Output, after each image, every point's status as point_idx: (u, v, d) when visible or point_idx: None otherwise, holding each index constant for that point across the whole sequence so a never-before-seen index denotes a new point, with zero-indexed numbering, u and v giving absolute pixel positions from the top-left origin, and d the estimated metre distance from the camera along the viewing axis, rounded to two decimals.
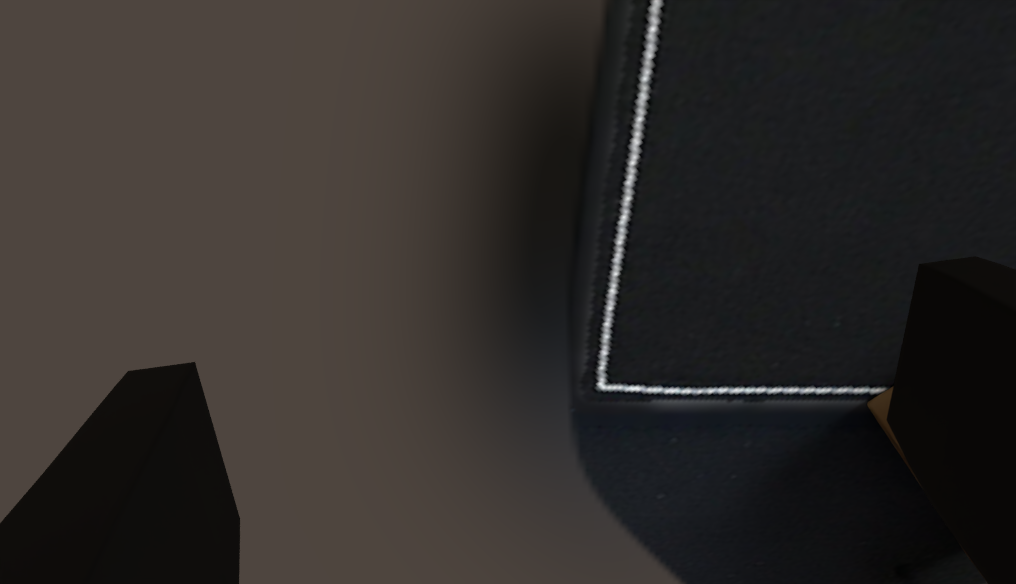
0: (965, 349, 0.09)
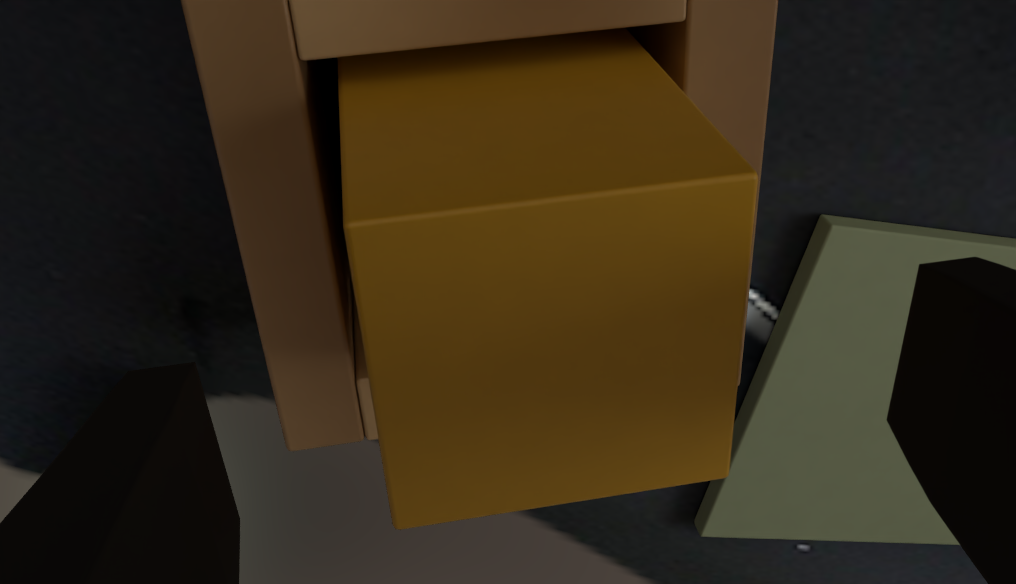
0: (965, 349, 0.09)
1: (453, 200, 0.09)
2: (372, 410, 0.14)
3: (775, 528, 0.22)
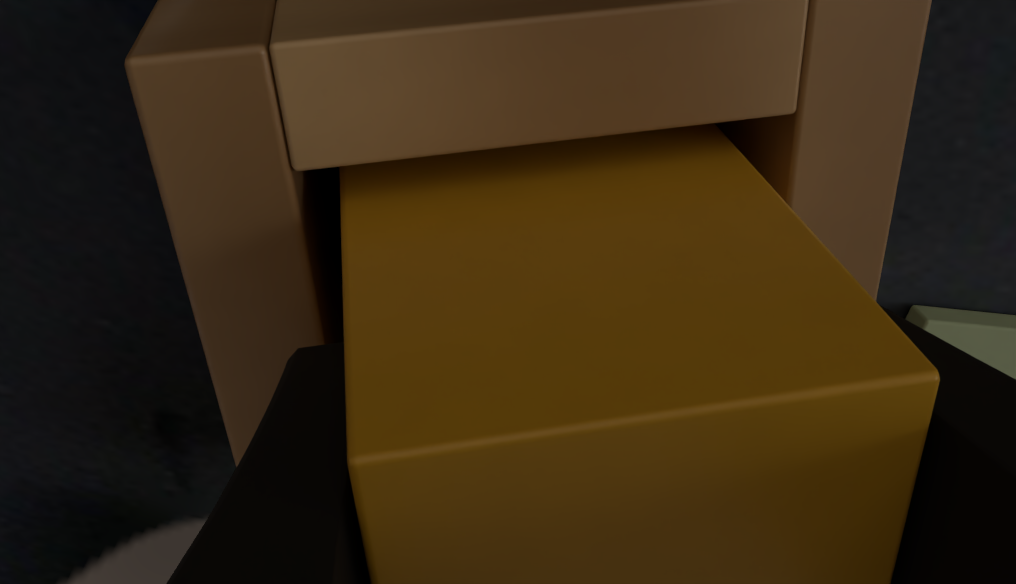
0: None
1: (506, 417, 0.06)
2: None
3: None
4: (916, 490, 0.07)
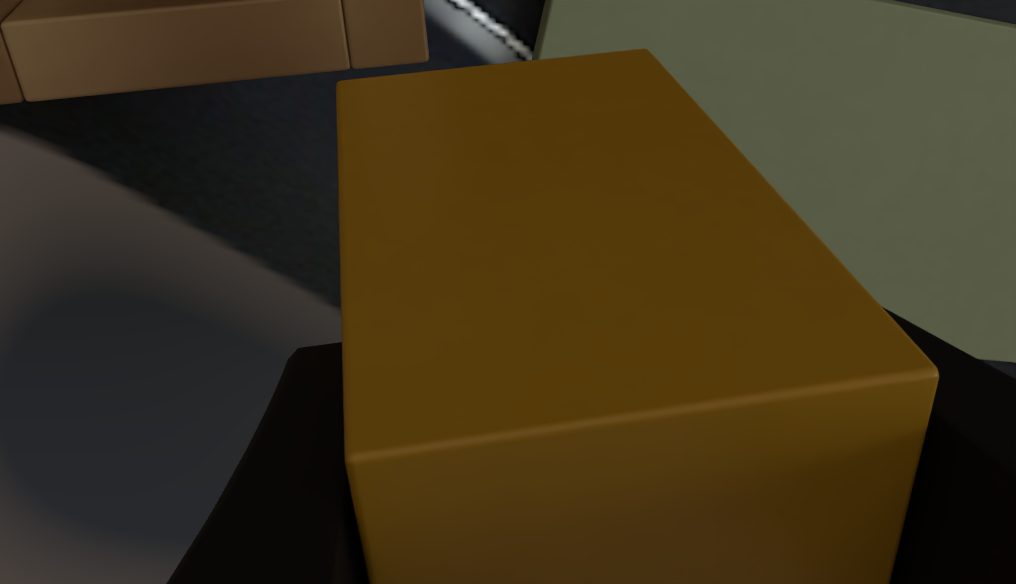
0: None
1: (504, 414, 0.06)
2: (24, 62, 0.14)
3: None
4: (916, 490, 0.07)
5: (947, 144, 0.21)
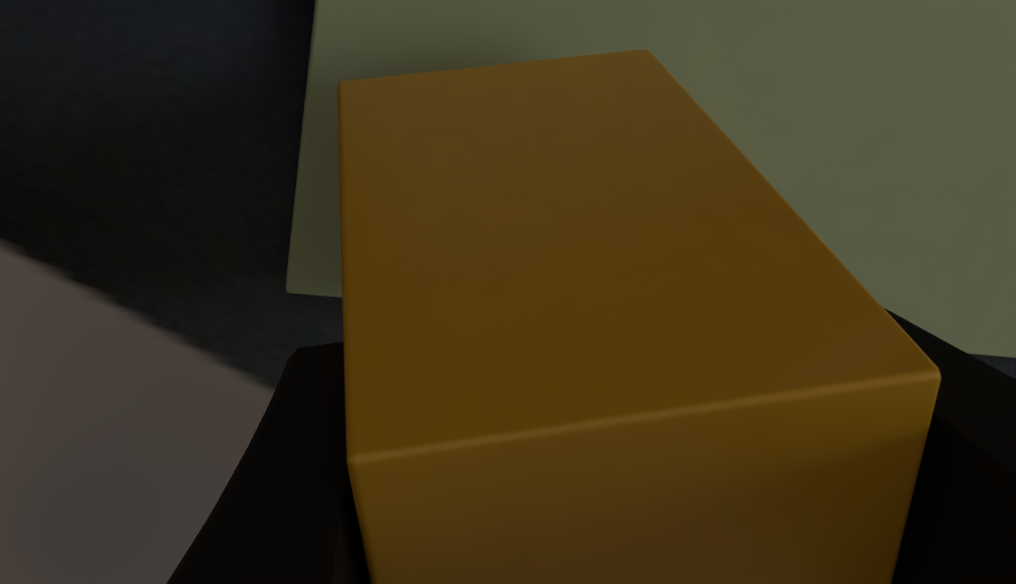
0: None
1: (506, 416, 0.06)
2: None
3: None
4: (916, 490, 0.07)
5: (954, 46, 0.14)
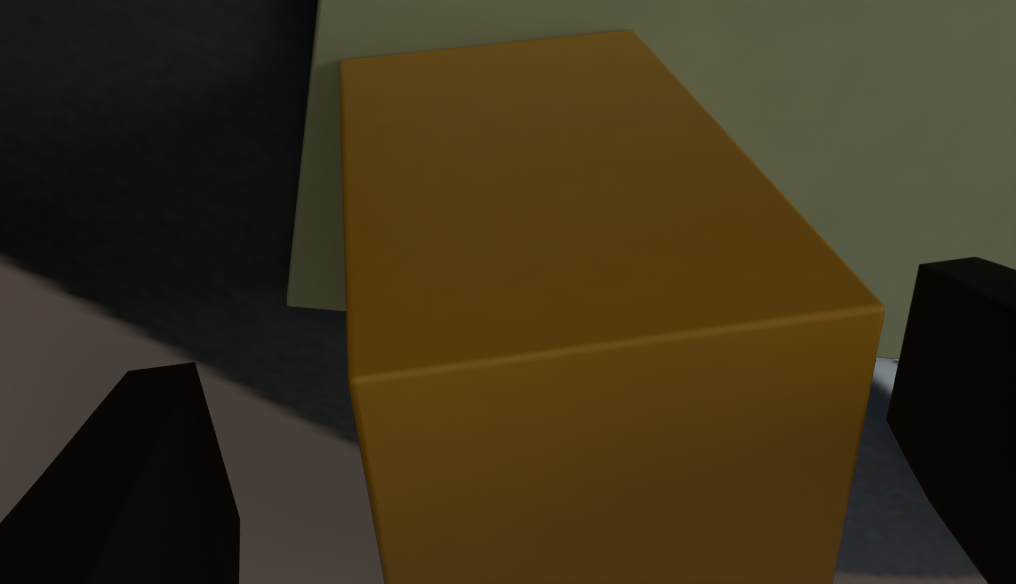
0: (965, 349, 0.09)
1: (492, 343, 0.07)
2: None
3: None
4: None
5: (972, 54, 0.14)
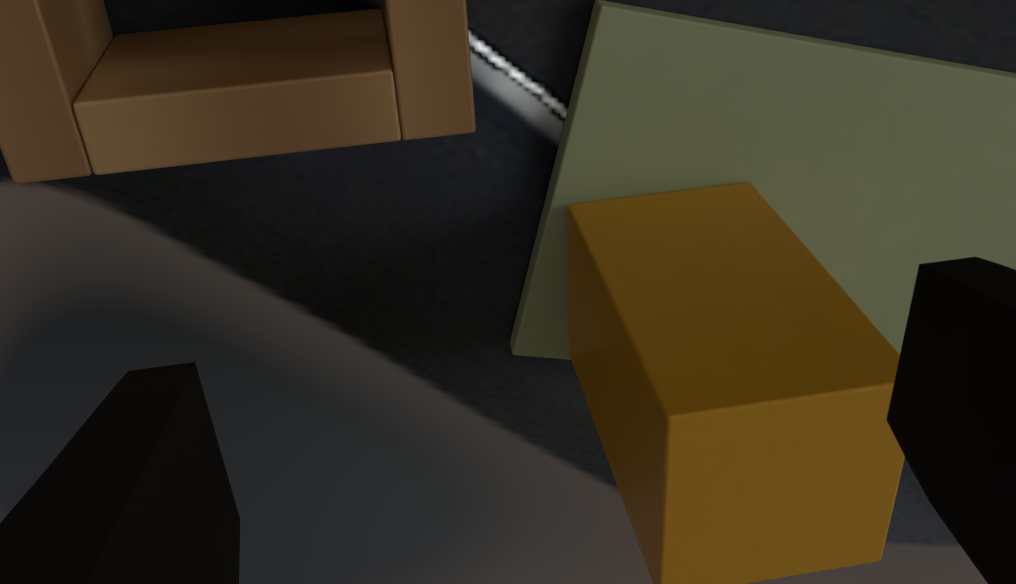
0: (965, 348, 0.09)
1: (731, 398, 0.14)
2: (94, 139, 0.14)
3: None
4: None
5: (966, 191, 0.21)
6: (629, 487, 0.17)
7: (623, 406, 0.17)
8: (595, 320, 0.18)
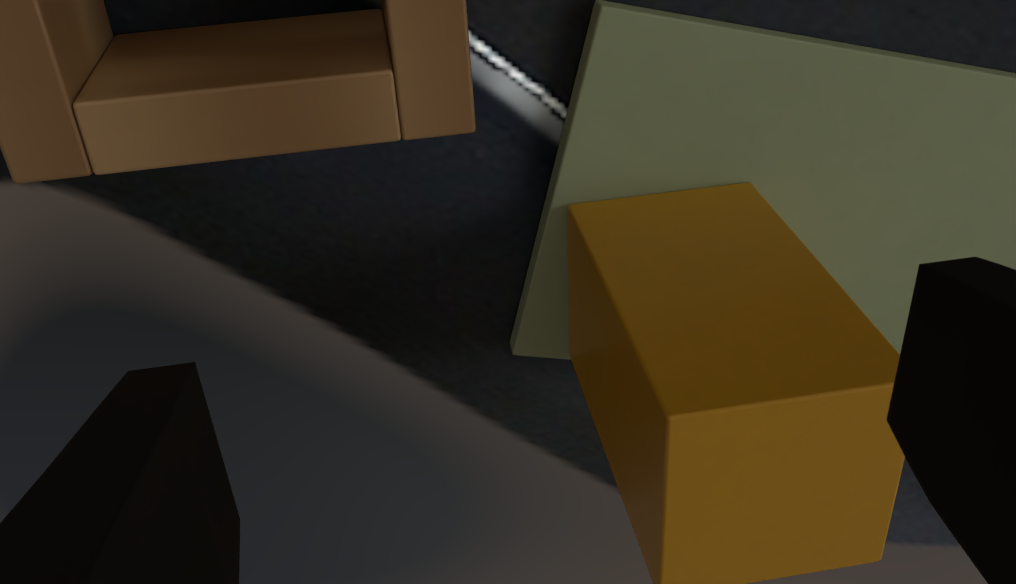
0: (965, 348, 0.09)
1: (731, 398, 0.14)
2: (94, 139, 0.14)
3: None
4: None
5: (966, 191, 0.21)
6: (629, 487, 0.17)
7: (623, 406, 0.17)
8: (595, 320, 0.18)
